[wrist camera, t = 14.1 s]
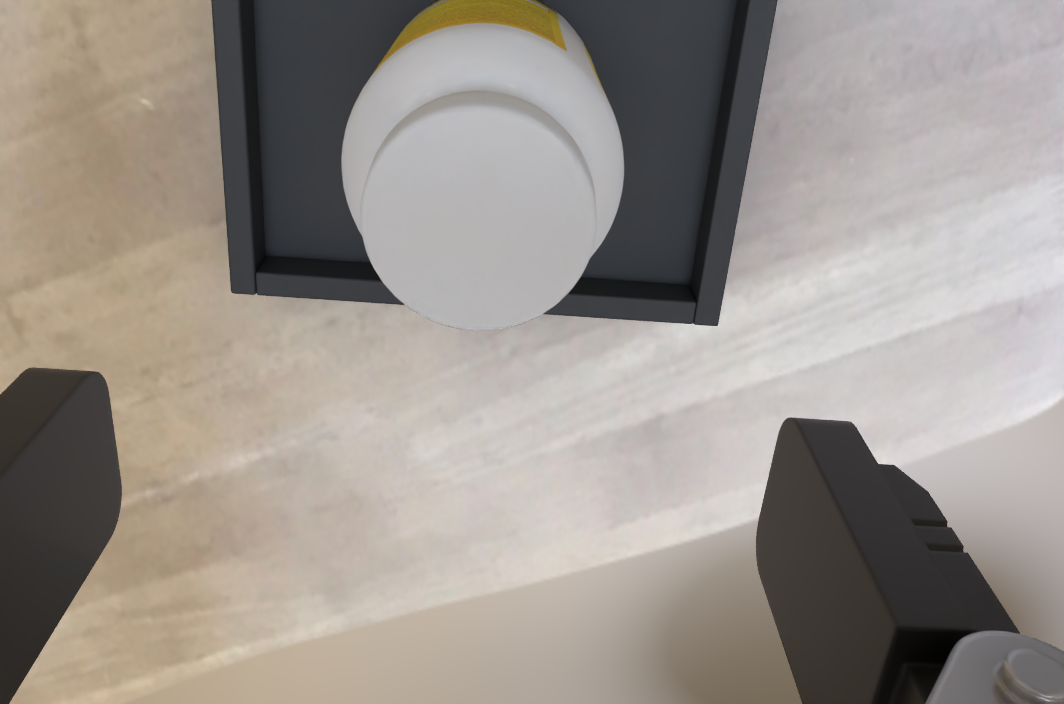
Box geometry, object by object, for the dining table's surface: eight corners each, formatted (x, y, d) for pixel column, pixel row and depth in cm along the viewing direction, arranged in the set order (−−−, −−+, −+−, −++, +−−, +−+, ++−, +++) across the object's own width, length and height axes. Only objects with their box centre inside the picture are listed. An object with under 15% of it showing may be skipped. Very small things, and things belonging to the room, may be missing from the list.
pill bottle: (346, 38, 28) (246, 136, 18) (549, -55, 27) (567, -9, 17) (441, 231, 31) (401, 412, 21) (628, 153, 30) (687, 304, 19)
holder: (777, -105, 27) (796, -104, 25) (706, 300, 33) (718, 326, 31) (222, -154, 26) (199, -156, 25) (247, 269, 32) (230, 294, 30)
